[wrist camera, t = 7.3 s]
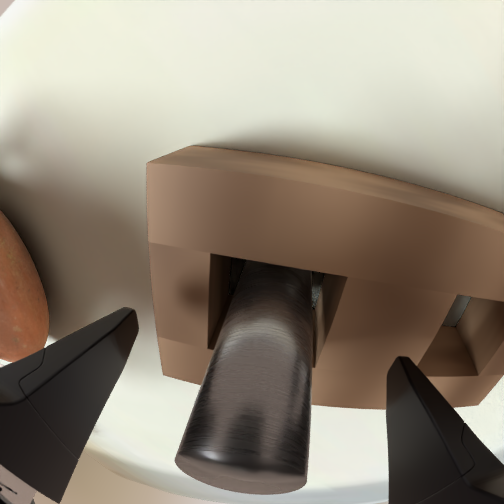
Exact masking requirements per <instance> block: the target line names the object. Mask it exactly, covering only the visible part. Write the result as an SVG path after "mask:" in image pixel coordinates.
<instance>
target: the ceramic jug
mask: <svg viewBox="0 0 504 504" xmlns="http://www.w3.org/2000/svg"><path fill="white" fill-rule="evenodd" d="M48 333H49V311H48V305H47V300H46V296H45V292H44V289H43V286H42V283H41V280H40V277H39V275H38V272H37V270H36V267H35V265H34V263H33V260H32V258H31V256H30V254H29V252H28V250H27V248H26V246H25V245H24V243H23V241H22V240H21V238H20V236H19V235H18V233H17V231H16V230H15V228H14V227H13V225H12V224H11V223H10V221H9V220H8V219H7V217H6V216H5V215H4V214H3V212H2V211H1V210H0V359H3V360H6V361H9V362H15V361H18V360H20V359H22V358H25V357H27V356H29V355H31V354H33V353H35V352H37V351H39V350H41V349H43V348H44V346H45V344H46V341H47V337H48Z"/></svg>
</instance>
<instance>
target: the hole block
mask: <svg viewBox="0 0 504 504" xmlns="http://www.w3.org/2000/svg"><path fill="white" fill-rule="evenodd" d="M147 225H148V246H149V261H150V274H151V286H152V296H153V306H154V315H155V323H156V331H157V339H158V346H159V352H160V359H161V365H162V371H163V375H165V376H168V377H172V378H175V379H179V380H183V381H187V382H190V383H194V384H198V385H201V384H202V382H203V379H204V376H205V373H206V370H207V368H208V365H209V362H210V359H211V357H212V354H213V351H214V348H215V345H216V343H217V340H218V337H219V334H220V332H221V329H222V326H223V323H224V320H225V318H226V315H227V312H228V309H229V307H230V304H231V301H232V298H233V295H229V294H228V292H229V280H230V268H231V257H235V258H241V259H247V260H253V261H258V262H264V263H270V264H276V265H282V266H287V267H293V268H299V269H305V270H311V271H317V272H323V273H325V275H324V279H323V282H322V286H321V289H320V293H319V297H318V300H317V304H316V307H315V309H312V321H313V352H312V400H311V405H319V406H330V407H342V408H358V409H385V410H386V378H387V373H388V370H389V369H390V367H391V365H392V364H393V362H394V360H395V359H396V357H398V356H407V357H409V358H410V359H411V360H412V361H413V362H414V363H415V364H416V366H417V367H418V368H419V369H420V370H421V371H422V372H423V373H424V375H425V376H426V377H427V378H428V379H429V380H430V382H431V383H432V384H433V385H434V386H435V387H436V388H437V390H438V391H439V392H440V393H441V394H442V395H443V397H444V398H445V399H446V400H447V401H448V403H449V404H450V405H451V406H452V407H453V408H455V407H466V406H476V405H479V403H480V402H481V401H482V400H483V399H484V398H485V397H486V396H487V394H488V393H489V392H490V391H491V390H492V389H493V387H494V386H495V385H496V384H497V382H498V381H499V380H500V379H501V377H502V376H503V375H504V214H503V213H501V212H498V211H495V210H493V209H490V208H487V207H484V206H482V205H479V204H476V203H473V202H470V201H467V200H464V199H461V198H458V197H455V196H452V195H449V194H445V193H442V192H439V191H435V190H432V189H429V188H425V187H422V186H418V185H415V184H411V183H407V182H403V181H400V180H396V179H392V178H388V177H384V176H380V175H376V174H371V173H367V172H363V171H358V170H354V169H349V168H344V167H339V166H334V165H329V164H324V163H319V162H313V161H308V160H302V159H296V158H290V157H284V156H277V155H270V154H263V153H256V152H248V151H240V150H231V149H222V148H212V147H201V146H188V147H186V148H183V149H180V150H178V151H175V152H172V153H170V154H167V155H165V156H162V157H160V158H157V159H155V160H152V161H150V162H148V163H147ZM457 295H464V296H470V297H471V299H470V301H469V303H468V305H467V307H466V309H465V311H464V313H463V314H462V316H461V318H460V320H459V322H458V323H457V325H456V327H449V326H441V325H442V323H443V321H444V319H445V318H446V316H447V314H448V312H449V310H450V308H451V306H452V304H453V302H454V300H455V298H456V296H457Z"/></svg>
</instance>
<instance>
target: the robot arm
mask: <svg viewBox="0 0 504 504" xmlns="http://www.w3.org/2000/svg"><path fill="white" fill-rule="evenodd" d="M138 331H139V326H138V320H137V314H136V311H135V310H134V309H131V308H127V307H123V308H121V309H119V310H117V311H115V312H113V313H111V314H109V315H107V316H105V317H103V318H101V319H99V320H98V321H96V322H94V323H92V324H90V325H88V326H86V327H84V328H82V329H80V330H78V331H76V332H74V333H72V334H70V335H68V336H66V337H64V338H62V339H60V340H58V341H57V342H55V343H53V344H51V345H49V346H47V347H46V348H43V349H41V350H39V351H37V352H35V353H33V354H31V355H29V356H27V357H25V358H22V359H20V360H18V361H15V362H13V363H10V364H8V365H5V366H3V367H0V504H35V503H34V500H33V497H34V495H35V493H36V491H38V492H40V493H42V494H43V495H45V496H46V497H48V498H50V499H51V500H53V501H55V502H57V503H58V504H59V503H60V502H61V500H62V497H63V495H64V492H65V490H66V488H67V485H68V483H69V481H70V478H71V476H72V474H73V472H74V469H75V467H76V465H77V463H78V459H79V458H80V455H81V453H82V451H83V449H84V447H85V445H86V443H87V441H88V439H89V436H90V434H91V432H92V430H93V428H94V426H95V424H96V422H97V420H98V418H99V416H100V414H101V412H102V410H103V408H104V406H105V404H106V402H107V400H108V398H109V396H110V394H111V392H112V390H113V388H114V386H115V384H116V382H117V381H118V379H119V377H120V375H121V373H122V371H123V369H124V367H125V364H126V362H127V359H128V357H129V354H130V352H131V349H132V347H133V344H134V342H135V339H136V337H137V334H138ZM386 423H387V438H388V462H389V504H504V465H503V464H502V463H501V462H500V461H499V459H498V458H497V457H496V456H495V455H494V454H493V453H492V452H491V451H490V450H489V449H488V448H487V447H486V446H485V445H484V444H483V443H482V442H481V441H480V439H479V438H478V437H477V436H476V435H475V434H474V433H473V431H472V430H471V429H470V428H469V427H468V425H467V424H466V423H464V421H463V419H462V418H461V417H460V416H459V414H458V413H457V412H456V411H455V410H454V408H453V407H452V406H451V405H450V404H449V403H448V401H447V400H446V399H445V398H444V397H443V395H442V394H441V393H440V392H439V391H438V390H437V388H436V387H435V386H434V385H433V384H432V383H431V382H430V380H429V379H428V378H427V377H426V376H425V375H424V373H423V372H422V371H421V370H420V369H419V368H418V367H417V366H416V364H415V363H414V362H413V361H412V360H411V359H410V358H409V357H407V356H398V357H396V359H395V360H394V362H393V364H392V365H391V367H390V369H389V370H388V373H387V378H386Z"/></svg>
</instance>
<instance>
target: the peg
mask: <svg viewBox="0 0 504 504" xmlns="http://www.w3.org/2000/svg"><path fill="white" fill-rule="evenodd" d="M312 352H313V321H312V271H311V270H305V269H299V268H293V267H287V266H282V265H276V264H270V263H264V262H258V261H253V260H246V262H245V265H244V268H243V271H242V273H241V276H240V279H239V282H238V284H237V287H236V290H235V293H234V295H233V298H232V301H231V304H230V307H229V309H228V312H227V315H226V318H225V320H224V323H223V326H222V329H221V332H220V334H219V337H218V340H217V343H216V345H215V348H214V351H213V354H212V357H211V359H210V362H209V365H208V368H207V370H206V373H205V376H204V379H203V382H202V384H201V387H200V390H199V393H198V396H197V398H196V401H195V404H194V407H193V409H192V412H191V415H190V418H189V421H188V423H187V426H186V429H185V432H184V435H183V437H182V440H181V443H180V446H179V449H178V451H177V454H176V457H175V463H176V465H177V466H178V467H179V468H180V469H181V470H182V471H183V472H184V473H186V474H187V475H189V476H191V477H192V478H194V479H196V480H198V481H201V482H203V483H206V484H208V485H211V486H214V487H217V488H221V489H225V490H229V491H234V492H240V493H247V494H261V495H270V494H282V493H288V492H292V491H295V490H298V489H300V488H302V487H303V486H304V485H305V484H306V482H307V472H308V458H309V443H310V424H311V400H312Z"/></svg>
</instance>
